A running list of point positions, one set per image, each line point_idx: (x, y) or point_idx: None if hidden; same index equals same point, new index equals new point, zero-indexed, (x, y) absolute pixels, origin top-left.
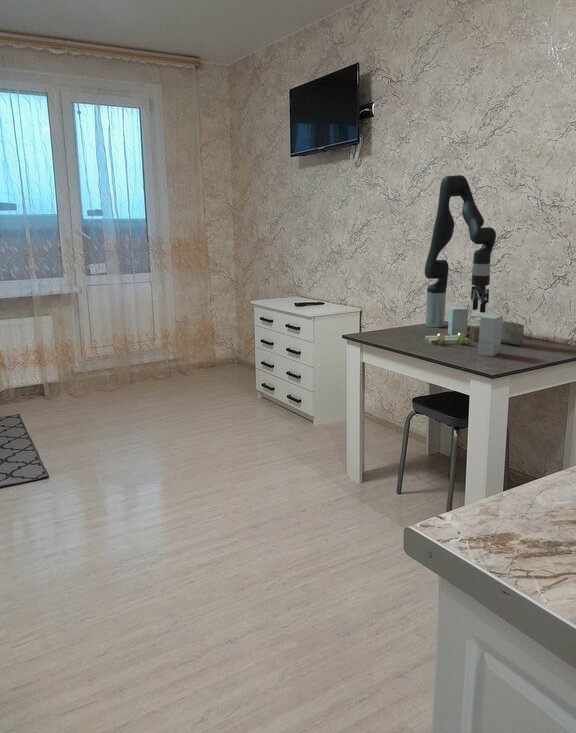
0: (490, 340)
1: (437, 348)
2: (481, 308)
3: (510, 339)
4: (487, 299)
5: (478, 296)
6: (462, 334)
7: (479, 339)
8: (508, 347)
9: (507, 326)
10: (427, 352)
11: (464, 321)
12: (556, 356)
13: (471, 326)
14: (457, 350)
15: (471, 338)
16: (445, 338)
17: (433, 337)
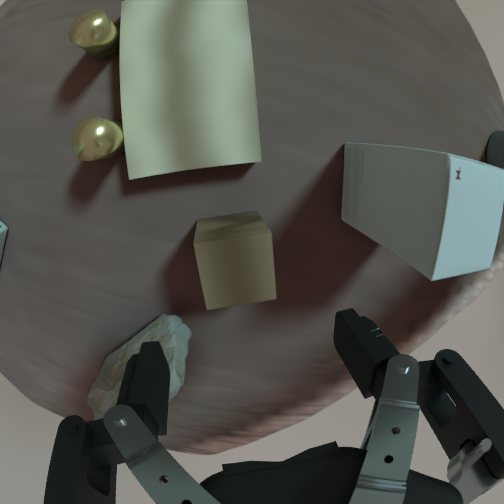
0: None
1: (49, 40)
2: (139, 373)
3: (107, 357)
4: (87, 473)
5: (168, 481)
6: (73, 143)
7: None
8: (87, 327)
9: (113, 391)
10: (7, 23)
11: (382, 225)
12: (26, 386)
13: (264, 239)
14: (11, 119)
15: (229, 217)
16: (155, 60)
17: (191, 8)
